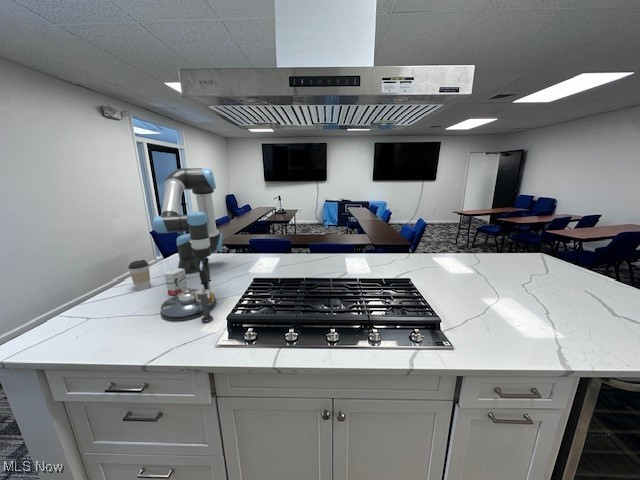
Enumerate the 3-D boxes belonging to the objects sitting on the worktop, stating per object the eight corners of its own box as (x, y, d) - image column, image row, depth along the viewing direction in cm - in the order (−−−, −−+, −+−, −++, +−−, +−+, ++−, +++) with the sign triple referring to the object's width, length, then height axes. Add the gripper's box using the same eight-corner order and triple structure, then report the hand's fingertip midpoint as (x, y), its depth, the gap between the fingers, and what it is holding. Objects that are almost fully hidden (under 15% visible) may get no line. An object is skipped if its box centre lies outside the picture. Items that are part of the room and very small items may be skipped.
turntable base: (183, 295, 127) (182, 293, 127) (225, 297, 125) (225, 295, 124) (147, 320, 105) (147, 318, 105) (198, 323, 102) (198, 321, 102)
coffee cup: (138, 292, 131) (132, 265, 128) (129, 288, 136) (123, 262, 132) (156, 285, 139) (151, 260, 135) (147, 282, 143) (142, 258, 139)
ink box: (176, 295, 127) (172, 274, 124) (167, 295, 128) (164, 273, 125) (188, 288, 135) (184, 268, 132) (180, 287, 136) (177, 267, 133)
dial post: (204, 315, 108) (200, 289, 105) (216, 316, 107) (212, 289, 104) (197, 322, 103) (192, 294, 100) (209, 323, 102) (205, 295, 99)
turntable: (206, 290, 130) (204, 279, 128) (222, 305, 114) (221, 293, 112) (157, 304, 115) (154, 292, 114) (168, 324, 100) (165, 311, 98)
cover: (195, 295, 120) (194, 284, 119) (201, 301, 114) (199, 290, 113) (177, 300, 115) (175, 289, 113) (181, 307, 109) (179, 295, 108)
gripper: (194, 244, 115) (201, 290, 121) (188, 252, 103) (196, 303, 109) (212, 242, 117) (218, 288, 123) (208, 250, 105) (214, 301, 111)
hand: (207, 295), depth 116 cm, fingers closed
